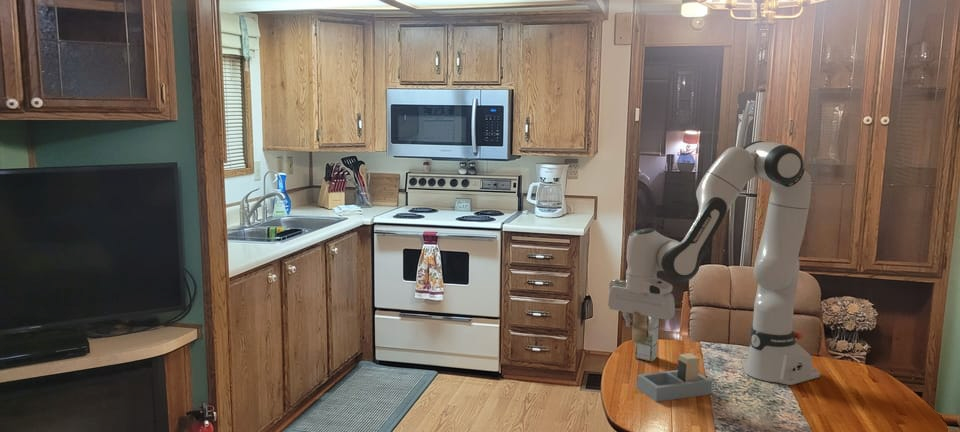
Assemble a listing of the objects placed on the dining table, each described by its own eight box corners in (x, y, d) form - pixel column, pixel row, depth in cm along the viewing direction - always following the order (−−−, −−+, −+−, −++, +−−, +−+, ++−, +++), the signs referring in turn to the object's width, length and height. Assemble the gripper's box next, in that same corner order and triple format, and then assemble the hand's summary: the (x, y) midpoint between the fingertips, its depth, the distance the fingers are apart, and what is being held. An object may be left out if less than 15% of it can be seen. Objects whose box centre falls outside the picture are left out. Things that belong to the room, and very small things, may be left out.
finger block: (647, 338, 205) (647, 309, 204) (648, 342, 201) (648, 313, 200) (632, 337, 206) (632, 309, 205) (632, 342, 202) (633, 312, 201)
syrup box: (657, 357, 223) (659, 314, 221) (651, 362, 218) (653, 318, 216) (640, 353, 226) (642, 311, 224) (634, 358, 221) (636, 315, 219)
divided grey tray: (689, 381, 203) (691, 349, 202) (710, 394, 194) (713, 360, 192) (636, 387, 198) (638, 355, 196) (656, 401, 188) (657, 367, 187)
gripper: (604, 280, 205) (603, 324, 207) (668, 290, 192) (667, 337, 194) (614, 276, 210) (613, 319, 212) (677, 286, 197) (676, 332, 199)
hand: (639, 328), depth 203 cm, fingers closed on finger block, 6 cm apart
